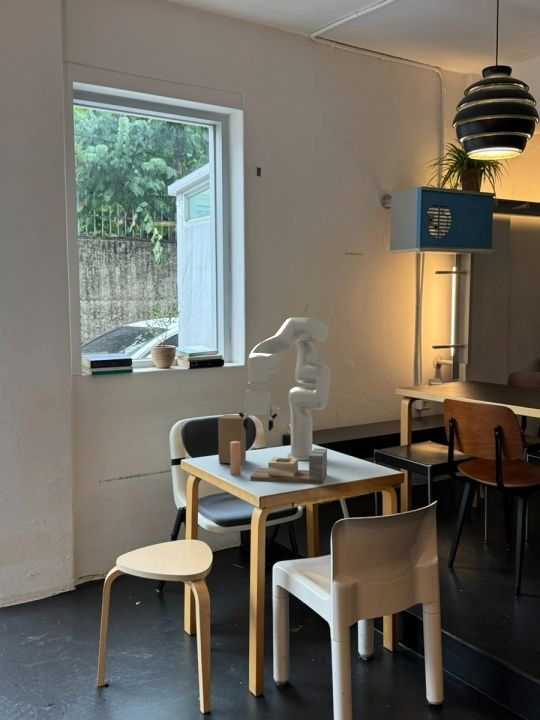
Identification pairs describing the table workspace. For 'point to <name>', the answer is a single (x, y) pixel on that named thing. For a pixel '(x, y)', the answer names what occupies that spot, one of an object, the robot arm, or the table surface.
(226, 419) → the block
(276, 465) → the sliding block
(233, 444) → the dowel
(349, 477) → the table surface
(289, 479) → the backstop board
